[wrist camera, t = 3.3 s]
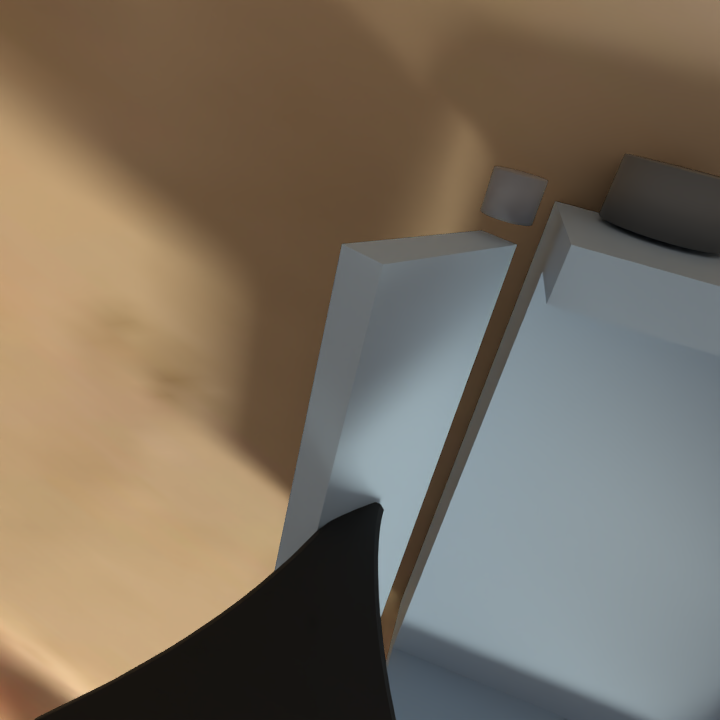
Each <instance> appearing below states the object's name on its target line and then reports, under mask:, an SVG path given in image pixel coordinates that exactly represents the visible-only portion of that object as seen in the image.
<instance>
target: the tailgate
mask: <svg viewBox="0 0 720 720" xmlns="http://www.w3.org/2000/svg"><path fill="white" fill-rule="evenodd" d="M516 246H517V244H514V243H512V242H509V241H507V240H504V239H502V238H499V237H497V236H494V235H492V234H489V233H487V232H484V231H482V230H481V231H470V232H460V233H450V234H439V235H429V236H419V237H409V238H398V239H388V240H378V241H367V242H357V243H347V244H342V246H341V251H340V256H339V261H338V266H337V270H336V275H335V280H334V285H333V290H332V295H331V299H330V304H329V309H328V314H327V319H326V324H325V329H324V333H323V338H322V343H321V348H320V353H319V358H318V363H317V367H316V372H315V377H314V382H313V387H312V392H311V396H310V401H309V406H308V411H307V416H306V421H305V426H304V430H303V435H302V440H301V445H300V450H299V455H298V460H297V464H296V469H295V474H294V479H293V484H292V489H291V493H290V498H289V503H288V508H287V513H286V518H285V523H284V527H283V532H282V537H281V542H280V547H279V552H278V557H277V561H276V566H275V570H276V569H277V568H279V567H280V566H281V565H282V564H283V563H284V562H286V561H287V560H288V559H289V558H290V557H291V556H292V555H293V554H294V553H295V552H296V551H297V550H298V549H299V548H300V547H301V546H302V545H303V544H304V543H305V542H306V541H307V540H308V539H309V538H310V537H311V536H312V535H313V534H314V533H315V532H316V531H317V530H319V529H320V528H322V527H323V526H324V525H326V524H327V523H328V522H330V521H331V520H333V519H335V518H337V517H340V516H342V515H344V514H346V513H348V512H351V511H353V510H355V509H358V508H360V507H363V506H366V505H368V504H371V503H374V502H377V503H380V504H381V505H382V507H383V509H384V512H383V515H382V520H381V526H380V535H379V551H378V580H379V603H380V616H381V615H382V612H383V610H384V607H385V604H386V601H387V599H388V596H389V593H390V591H391V588H392V585H393V582H394V580H395V577H396V574H397V571H398V569H399V566H400V563H401V560H402V558H403V555H404V552H405V550H406V547H407V544H408V541H409V539H410V536H411V533H412V530H413V528H414V525H415V522H416V519H417V517H418V514H419V511H420V509H421V506H422V503H423V500H424V498H425V495H426V492H427V489H428V487H429V484H430V481H431V478H432V476H433V473H434V470H435V468H436V465H437V462H438V459H439V457H440V454H441V451H442V448H443V446H444V443H445V440H446V438H447V435H448V432H449V429H450V427H451V424H452V421H453V418H454V416H455V413H456V410H457V407H458V405H459V402H460V399H461V397H462V394H463V391H464V388H465V386H466V383H467V380H468V377H469V375H470V372H471V369H472V366H473V364H474V361H475V358H476V356H477V353H478V350H479V347H480V345H481V342H482V339H483V336H484V334H485V331H486V328H487V325H488V323H489V320H490V317H491V315H492V312H493V309H494V306H495V304H496V301H497V298H498V295H499V293H500V290H501V287H502V284H503V282H504V279H505V276H506V274H507V271H508V268H509V265H510V263H511V260H512V257H513V254H514V252H515V249H516Z"/></svg>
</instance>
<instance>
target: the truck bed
mask: <svg viewBox="0 0 720 720" xmlns="http://www.w3.org/2000/svg"><path fill="white" fill-rule="evenodd" d="M547 183H548V180H546V179H544V178H541V177H539V176H536V175H533V174H529V173H526V172H522V171H519V170H515V169H510V168H505V167H499V166H495V167H494V169H493V173H492V176H491V179H490V182H489V185H488V188H487V191H486V194H485V197H484V201H483V204H482V207H481V212H482V213H484V214H486V215H488V216H490V217H493V218H495V219H498V220H501V221H505V222H508V223H512V224H517V225H524V226H530V225H532V223H533V221H534V218H535V215H536V213H537V210H538V207H539V205H540V202H541V199H542V197H543V194H544V191H545V188H546V186H547ZM386 667H387V673H388V679H389V685H390V691H391V696H392V701H393V706H394V712H395V717H396V720H720V177H718V176H715V175H711V174H707V173H703V172H700V171H696V170H692V169H688V168H684V167H680V166H676V165H672V164H668V163H664V162H660V161H656V160H652V159H648V158H644V157H639V156H635V155H630V154H625V155H624V157H623V159H622V162H621V164H620V166H619V169H618V171H617V173H616V176H615V178H614V180H613V183H612V185H611V187H610V190H609V192H608V194H607V197H606V199H605V201H604V204H603V206H602V208H601V211H600V213H597V212H594V211H590V210H586V209H583V208H579V207H575V206H571V205H568V204H564V203H560V202H557V201H555V203H554V206H553V209H552V211H551V214H550V216H549V219H548V222H547V224H546V227H545V229H544V232H543V234H542V237H541V240H540V242H539V245H538V247H537V250H536V253H535V255H534V258H533V260H532V263H531V266H530V268H529V271H528V273H527V276H526V279H525V281H524V284H523V286H522V289H521V292H520V294H519V297H518V299H517V302H516V305H515V307H514V310H513V312H512V315H511V317H510V320H509V323H508V325H507V328H506V330H505V333H504V336H503V338H502V341H501V343H500V346H499V349H498V351H497V354H496V356H495V359H494V362H493V364H492V367H491V369H490V372H489V375H488V377H487V380H486V382H485V385H484V388H483V390H482V393H481V395H480V398H479V400H478V403H477V406H476V408H475V411H474V413H473V416H472V419H471V421H470V424H469V426H468V429H467V432H466V434H465V437H464V439H463V442H462V445H461V447H460V450H459V452H458V455H457V458H456V460H455V463H454V465H453V468H452V471H451V473H450V476H449V478H448V481H447V483H446V486H445V489H444V491H443V494H442V496H441V499H440V502H439V504H438V507H437V509H436V512H435V515H434V517H433V520H432V522H431V525H430V528H429V530H428V533H427V535H426V538H425V541H424V543H423V546H422V548H421V551H420V554H419V556H418V559H417V561H416V564H415V567H414V569H413V572H412V574H411V577H410V579H409V582H408V585H407V587H406V590H405V592H404V595H403V598H402V600H401V603H400V607H399V611H398V616H397V620H396V624H395V628H394V632H393V636H392V640H391V644H390V648H389V652H388V656H387V660H386Z"/></svg>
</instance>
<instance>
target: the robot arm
mask: <svg viewBox="0 0 720 720" xmlns="http://www.w3.org/2000/svg"><path fill="white" fill-rule="evenodd" d="M383 512H384V509H383V507H382V505H381V504H380V503H377V502H374V503H371V504H368V505H366V506H363V507H360V508H358V509H355V510H353V511H351V512H348V513H346V514H344V515H342V516H340V517H337V518H335V519H333V520H331V521H330V522H328V523H327V524H326V525H324V526H323V527H322V528H320V529H319V530H317V531H316V532H315V533H314V534H313V535H312V536H311V537H310V538H309V539H308V540H307V541H306V542H305V543H304V544H303V545H302V546H301V547H300V548H299V549H298V550H297V551H296V552H295V553H294V554H293V555H292V556H291V557H290V558H289V559H288V560H287V561H286V562H284V563H283V564H282V565H281V566H280V567H279V568H277V569H276V570H275V571H274V572H273V573H272V574H271V575H269V576H268V577H267V578H266V579H265V580H264V581H263V582H261V583H260V584H259V585H258V586H257V587H255V588H254V589H253V590H252V591H250V592H249V593H248V594H247V595H245V596H244V597H243V598H241V599H240V600H239V601H237V602H236V603H235V604H233V605H232V606H231V607H229V608H228V609H227V610H225V611H224V612H223V613H221V614H220V615H218V616H217V617H216V618H214V619H213V620H211V621H210V622H208V623H207V624H205V625H204V626H202V627H201V628H199V629H198V630H196V631H195V632H193V633H192V634H190V635H189V636H187V637H186V638H184V639H183V640H181V641H179V642H178V643H176V644H175V645H173V646H171V647H170V648H168V649H167V650H165V651H163V652H161V653H160V654H158V655H156V656H154V657H153V658H151V659H149V660H147V661H146V662H144V663H142V664H140V665H139V666H137V667H135V668H133V669H132V670H130V671H128V672H126V673H125V674H123V675H121V676H119V677H118V678H116V679H114V680H112V681H110V682H108V683H106V684H104V685H102V686H100V687H98V688H96V689H94V690H92V691H90V692H88V693H86V694H84V695H82V696H80V697H78V698H76V699H74V700H72V701H70V702H68V703H66V704H64V705H62V706H60V707H58V708H55V709H53V710H51V711H49V712H47V713H45V714H43V715H41V716H39V717H38V718H36V719H35V720H396V717H395V712H394V706H393V701H392V696H391V691H390V685H389V679H388V673H387V667H386V660H385V653H384V645H383V637H382V626H381V616H380V603H379V580H378V551H379V535H380V526H381V520H382V515H383Z"/></svg>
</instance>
